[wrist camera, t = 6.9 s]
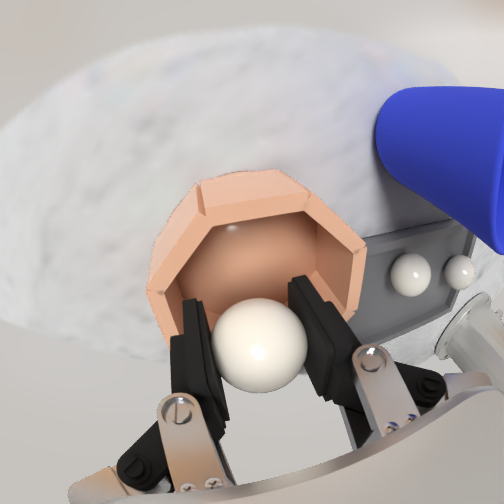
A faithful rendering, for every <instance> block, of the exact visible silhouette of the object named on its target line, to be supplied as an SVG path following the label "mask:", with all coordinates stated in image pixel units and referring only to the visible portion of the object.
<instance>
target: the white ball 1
mask: <svg viewBox="0 0 504 504" xmlns="http://www.w3.org/2000/svg"><path fill="white" fill-rule="evenodd" d="M210 344H211V349H212V354H213V359H214V362H215V366H216V369H217V371H218V373H219V374H220V375H221V377H222V378H223V379H224V380H225V381H226V382H228V383H229V384H231V385H232V386H234V387H235V388H238V389H240V390H243V391H246V392H251V393H267V392H272V391H275V390H278V389H280V388H282V387H284V386H285V385H287V384H288V383H289V382H291V381H292V380H293V379H294V378H295V377H296V376H297V375H298V373H299V372H300V370H301V369H302V367H303V365H304V362H305V359H306V356H307V350H308V341H307V335H306V332H305V329H304V326H303V324H302V322H301V321H300V319H299V318H298V316H297V315H296V314H295V313H294V312H293V311H292V310H291V309H290V308H288V307H287V306H285V305H284V304H282V303H279V302H277V301H275V300H271V299H265V298H252V299H247V300H244V301H241V302H238V303H236V304H234V305H233V306H231V307H230V308H228V309H227V310H226V311H225V312H224V313H223V314H222V315H221V316H220V317H219V319H218V320H217V322H216V324H215V326H214V328H213V331H212V334H211V338H210Z"/></svg>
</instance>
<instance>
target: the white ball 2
mask: <svg viewBox="0 0 504 504" xmlns="http://www.w3.org/2000/svg"><path fill="white" fill-rule="evenodd" d="M430 280H431V269H430V265H429V263H428V262H427V260H426V259H425V258H424V257H423V256H421V255H419V254H417V253H406V254H403V255H401V256H400V257H399V258H397V259H396V261H395V262H394V264H393V266H392V268H391V282H392V285H393V287H394V288H395V290H396V291H397V292H398V293H400V294H401V295H403V296H407V297H414V296H417V295H420V294H421V293H423V292H424V291H425V290H426V288H427V287H428V285H429V283H430Z"/></svg>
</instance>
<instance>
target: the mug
mask: <svg viewBox="0 0 504 504" xmlns="http://www.w3.org/2000/svg"><path fill="white" fill-rule="evenodd" d="M376 145H377V150H378V154H379V157H380V159H381V161H382V163H383V165H384V166H385V168H386V170H387V171H388V172H389V173H390V174H391V175H392V176H393V177H394V178H395V179H396V180H397V181H398V182H400V183H401V184H403V185H404V186H406V187H407V188H409V189H410V190H412V191H414V192H415V193H417V194H418V195H420V196H421V197H423V198H424V199H426V200H427V201H429V202H430V203H432V204H433V205H435V206H436V207H438V208H439V209H441V210H442V211H444V212H445V213H446V214H448V215H449V216H451V217H452V218H453V219H455V220H456V221H457V222H459V223H460V224H461V225H463V226H464V227H465V228H467V229H468V230H469V231H471V232H472V233H473V234H474V235H476V236H477V237H478V238H479V239H481V240H482V241H483V242H484V243H485V244H487V245H488V246H489V247H490V248H491V249H493V250H494V251H495V252H496V253H498V254H500V255H504V89H496V88H483V87H460V86H436V87H413V88H407V89H404V90H401V91H398V92H396V93H395V94H393V95H392V96H391V97H390V98H388V100H387V101H386V102H385V103H384V105H383V107H382V108H381V110H380V113H379V115H378V119H377V123H376Z"/></svg>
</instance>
